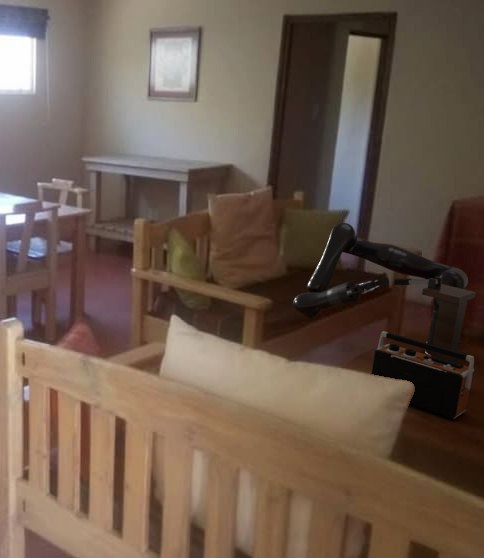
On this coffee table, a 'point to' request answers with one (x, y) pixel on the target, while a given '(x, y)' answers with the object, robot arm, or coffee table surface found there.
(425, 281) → the lever
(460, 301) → the stand
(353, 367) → the coffee table surface
